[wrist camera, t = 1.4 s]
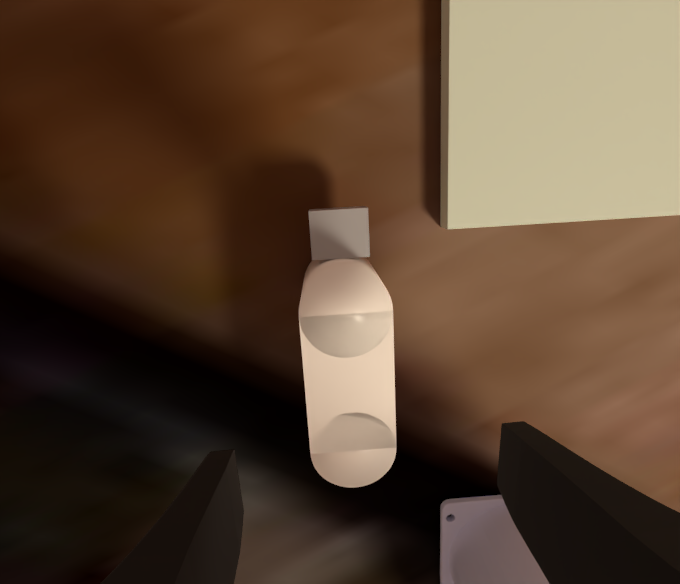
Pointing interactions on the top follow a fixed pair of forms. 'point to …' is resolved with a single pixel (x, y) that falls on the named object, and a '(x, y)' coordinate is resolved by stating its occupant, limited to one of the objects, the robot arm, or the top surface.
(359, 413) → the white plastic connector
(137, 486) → the top surface
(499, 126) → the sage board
